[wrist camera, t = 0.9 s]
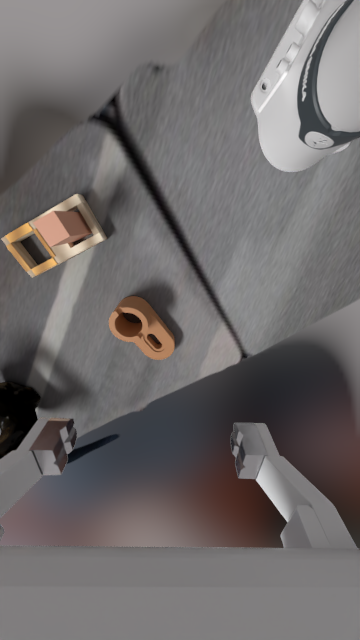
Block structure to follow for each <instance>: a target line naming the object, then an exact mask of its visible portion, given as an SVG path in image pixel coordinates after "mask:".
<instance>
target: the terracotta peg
mask: <svg viewBox="0 0 360 640" xmlns="http://www.w3.org/2000/svg"><path fill="white" fill-rule="evenodd" d="M33 224H34V225H35V226H36V228H37V229H38V231H39V232H40V234H41V235H42V236H43V238H44V239H45V241H46V242H47V243H48V245H49V246H50V247H53V246H58V245H62V244H66V243H71V242H75V241H78V240H80V239H82V238H84V237H86V236H87V235H89V234H91V233H92V231H91V229H90V228H89V226H88V224H87V223H86V221H85V219H84V218H83V216H82V214H81V213H80V212H69V211H52V212H50V213H48V214H47V215H45V216H43V217H42V218H40V219H38V220H37V221H35V222H33Z"/></svg>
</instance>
